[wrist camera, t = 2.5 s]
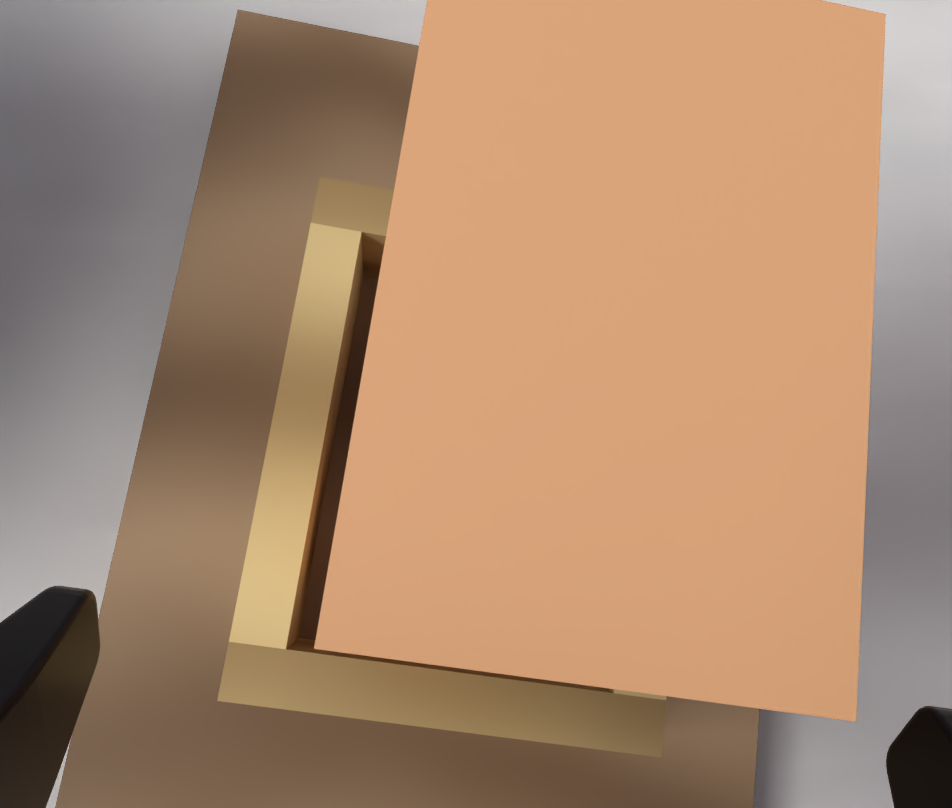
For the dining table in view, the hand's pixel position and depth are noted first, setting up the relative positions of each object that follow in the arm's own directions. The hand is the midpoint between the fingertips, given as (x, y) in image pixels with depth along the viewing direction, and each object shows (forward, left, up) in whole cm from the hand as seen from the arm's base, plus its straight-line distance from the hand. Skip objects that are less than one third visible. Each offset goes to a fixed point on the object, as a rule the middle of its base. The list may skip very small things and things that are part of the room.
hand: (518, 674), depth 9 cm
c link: (+2, -3, -9) cm, 9 cm away
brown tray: (+2, -3, -10) cm, 10 cm away
